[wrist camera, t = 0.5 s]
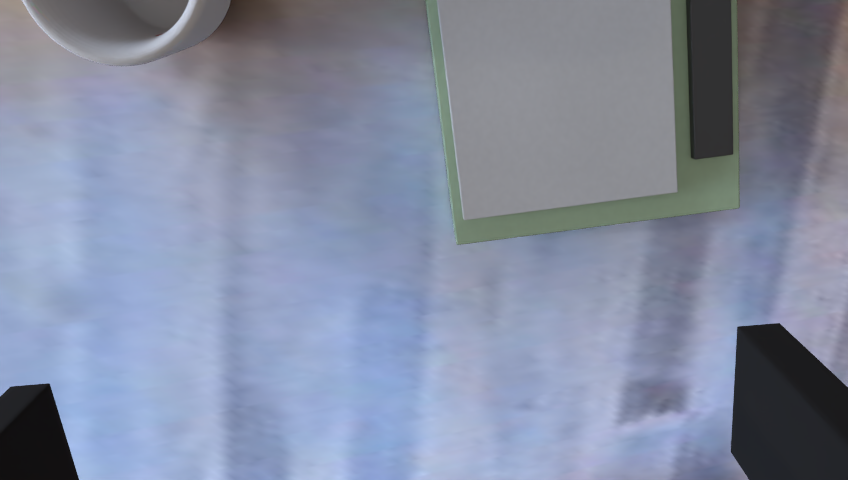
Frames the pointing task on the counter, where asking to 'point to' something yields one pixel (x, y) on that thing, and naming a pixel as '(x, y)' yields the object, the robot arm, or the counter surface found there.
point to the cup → (127, 27)
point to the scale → (585, 111)
